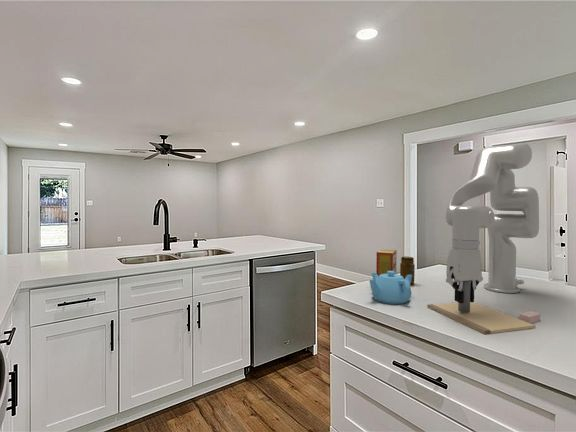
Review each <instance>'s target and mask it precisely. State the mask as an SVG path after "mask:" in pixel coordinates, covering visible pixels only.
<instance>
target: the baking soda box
mask: <svg viewBox="0 0 576 432" xmlns="http://www.w3.org/2000/svg"><path fill="white" fill-rule="evenodd" d="M375 268H376V272H375V273H377V275H378V276H380V275H381V274H388V273H387V271H394V272H395V274H397V250H396V249H384V248H382V249H379V250H378V251H376V267H375Z"/></svg>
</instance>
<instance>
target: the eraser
mask: <svg viewBox="0 0 576 432" xmlns="http://www.w3.org/2000/svg"><path fill="white" fill-rule="evenodd" d="M518 319H520V320H523V321H525V322H528V323H531V324H535V323H537V322H540V321H541V313H538V312H536V311H531V310H528V311H524V312H522V313H519V314H518Z"/></svg>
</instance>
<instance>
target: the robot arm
mask: <svg viewBox="0 0 576 432" xmlns="http://www.w3.org/2000/svg"><path fill="white" fill-rule="evenodd" d="M532 150H533V149H532V147H531V145H529V144H528V143H525V142H523V143H513V144H504V145H493V146H487V147H484V148H482V149H480V150H479V151H478V153H477V155H476V156H475V161H474V163H473V167H472V171H471V174H470V178H469V180H468V181H467V182H465V183H463V184H462V185H461V186H460V187H459V188H457V189H456V190H455V191H454V192H453V193H452V194H451V196H450V198H449V201H448V203H447V207H446V211H445V221H446V223H447V225H449V226H450V227H452V229H451V230H452V231H451V232H452V234H451V236H452V238H451V242H452V243H451V248H449V252H448V254H447V263H446V279H445V282H446V283H447V284H449V285H451V287H452V289H453V290H454V301H455V303H456V302H459V303H463V302H464V291H462V287H463V281H471V289H470V302H474V303H475V291H476V289H477V287H478V285H479V284H480V283H481V282H483V280H484V277H483V269H482V267H483V265H482V264H483V262H482V255H481V250H480V249H479V247H480V245H481V241H480V229H487V234H488V279H487V281H488V283H484V284H483V288H484V289H485V290H488V291H492V292H494V293H495V292H496V293H503V294H504V293H505V294H518V293H520V292H521V289H520V287H518V286H519V285H524V284H525V280H523V279H517V277H516V276H517V274H516V273H517V246H516V245H515V243H514V242H513V241H512V239H511V238H517V239H518V238H519V239H520V238H521V239H533V238H534V239H535V238H536V237H537V236H538V235H539V233H540V232H539V231H540V201H539V199H540V198H539V193H538V191H537V189H536V188H534V187H531V186H519V187H518V186H516V184H515V182H516V181H515V178H516V177H515V176H516V175H515V173H514V172H513V170H518V169H522V168H524V167H527V166H529V164H530V162H531V160H532V157H533V151H532ZM488 193H489V197H490V199H489V200H490V207H489V206H486V205H463V204H464V203H466V202H468V201H469V200H471V199H475V198H477V197H479V196H482V195H485V194H488ZM494 211H500V212H522V213H523V214H522V213H494Z"/></svg>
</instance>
